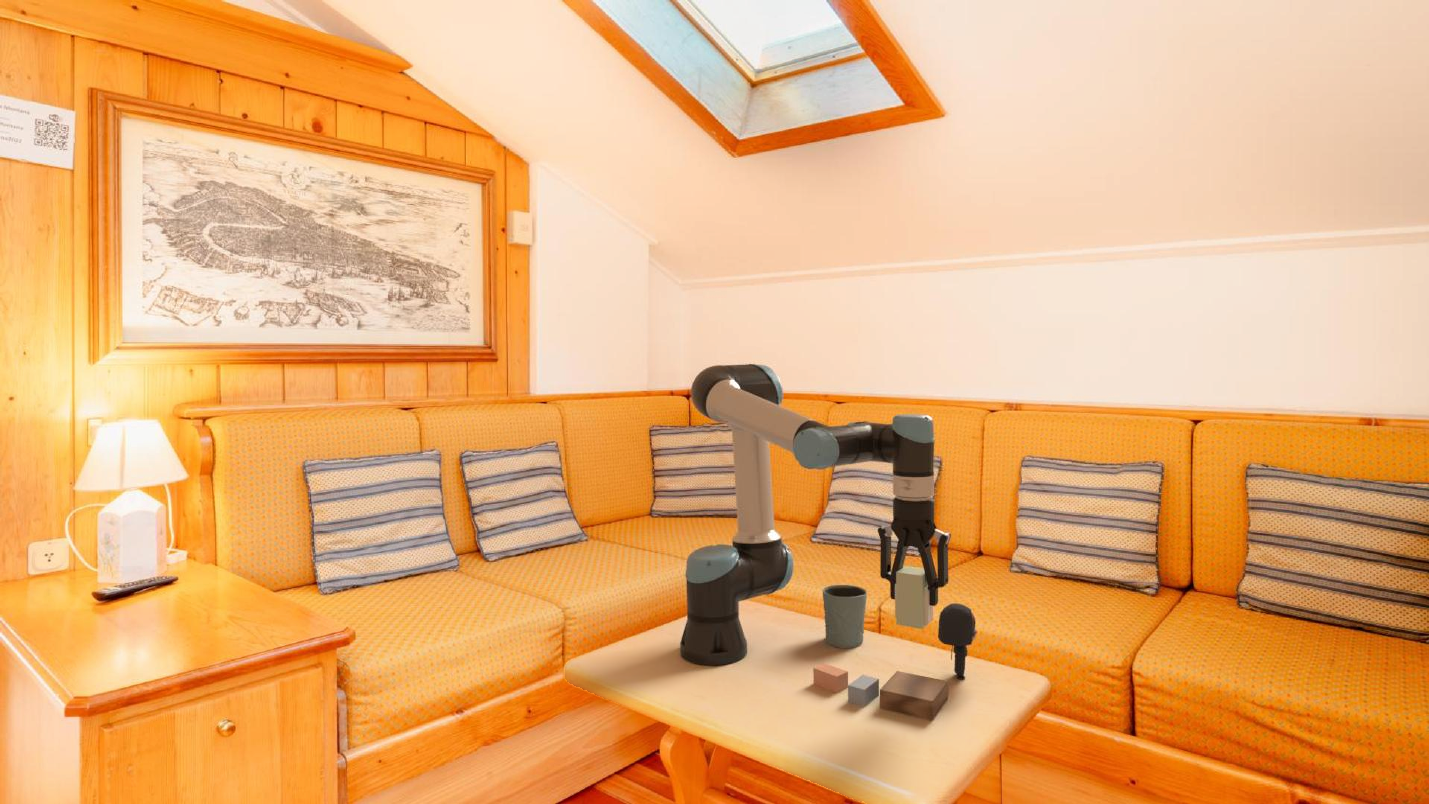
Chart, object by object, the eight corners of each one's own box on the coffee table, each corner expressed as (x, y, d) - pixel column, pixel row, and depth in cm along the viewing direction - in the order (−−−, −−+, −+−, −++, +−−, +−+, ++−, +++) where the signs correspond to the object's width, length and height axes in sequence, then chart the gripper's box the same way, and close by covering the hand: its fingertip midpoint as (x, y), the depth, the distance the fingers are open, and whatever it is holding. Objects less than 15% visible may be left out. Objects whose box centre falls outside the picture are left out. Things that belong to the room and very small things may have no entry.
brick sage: (896, 624, 147) (896, 572, 146) (906, 616, 151) (905, 565, 150) (922, 629, 144) (922, 575, 143) (931, 621, 148) (931, 569, 148)
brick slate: (864, 707, 148) (864, 689, 147) (848, 702, 150) (847, 685, 150) (878, 696, 152) (878, 679, 152) (862, 691, 154) (862, 674, 154)
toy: (980, 686, 155) (980, 612, 155) (939, 684, 157) (939, 610, 156) (974, 668, 164) (974, 598, 163) (936, 666, 166) (936, 597, 165)
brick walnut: (879, 710, 147) (879, 689, 147) (897, 690, 155) (897, 670, 155) (932, 722, 142) (932, 701, 141) (947, 701, 150) (947, 681, 150)
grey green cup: (816, 644, 180) (815, 593, 179) (833, 630, 188) (832, 581, 188) (857, 652, 175) (857, 599, 174) (873, 638, 183) (873, 587, 182)
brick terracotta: (813, 684, 158) (813, 668, 158) (824, 679, 161) (824, 663, 160) (837, 693, 154) (837, 676, 154) (848, 688, 156) (847, 671, 156)
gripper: (860, 496, 148) (861, 616, 149) (955, 504, 138) (955, 633, 139) (876, 490, 154) (876, 605, 156) (968, 498, 144) (968, 621, 145)
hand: (914, 618), depth 147 cm, fingers closed on brick sage, 5 cm apart
